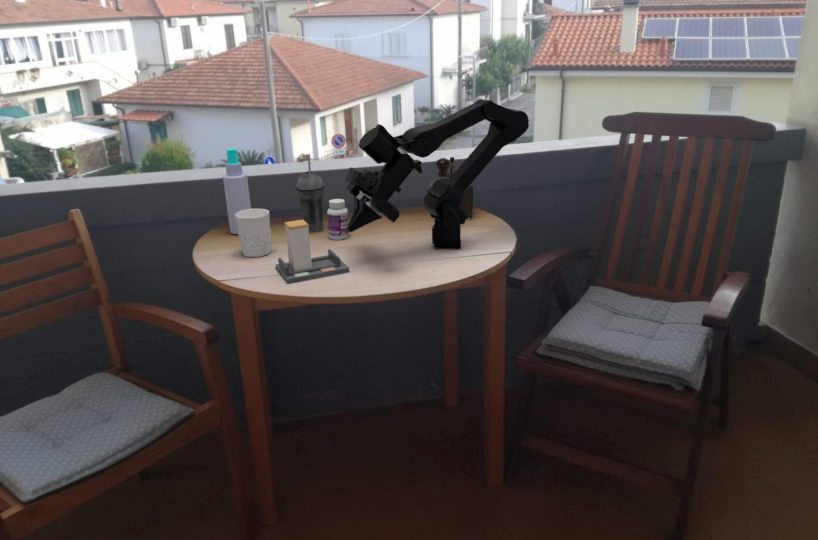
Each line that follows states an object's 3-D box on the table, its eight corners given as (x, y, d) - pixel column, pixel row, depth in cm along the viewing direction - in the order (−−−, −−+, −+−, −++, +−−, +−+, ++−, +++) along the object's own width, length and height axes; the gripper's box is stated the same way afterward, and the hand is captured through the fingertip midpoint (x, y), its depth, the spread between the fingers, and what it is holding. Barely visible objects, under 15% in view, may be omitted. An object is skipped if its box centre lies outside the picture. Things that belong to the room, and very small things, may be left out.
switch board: (334, 258, 148) (333, 246, 147) (349, 271, 139) (348, 259, 138) (275, 268, 142) (274, 256, 141) (287, 283, 134) (286, 270, 133)
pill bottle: (346, 240, 159) (343, 203, 156) (326, 239, 160) (323, 203, 157) (352, 234, 164) (349, 198, 160) (332, 233, 165) (330, 197, 161)
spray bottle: (249, 235, 165) (238, 151, 157) (227, 235, 166) (215, 151, 157) (256, 228, 170) (247, 147, 162) (235, 228, 171) (224, 147, 163)
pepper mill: (428, 211, 182) (427, 149, 175) (465, 209, 183) (466, 147, 176) (436, 227, 168) (436, 160, 161) (477, 225, 169) (478, 158, 162)
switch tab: (306, 262, 142) (302, 219, 138) (312, 268, 138) (308, 224, 135) (289, 266, 140) (284, 222, 136) (294, 272, 137) (289, 227, 133)
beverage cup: (296, 233, 165) (289, 158, 158) (304, 225, 172) (297, 152, 165) (323, 234, 164) (317, 158, 157) (330, 225, 171) (324, 152, 164)
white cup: (278, 248, 155) (274, 209, 152) (265, 259, 148) (260, 218, 144) (249, 246, 157) (244, 207, 153) (234, 257, 150) (229, 217, 146)
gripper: (351, 147, 145) (309, 200, 145) (383, 161, 129) (336, 221, 129) (384, 176, 151) (344, 227, 151) (418, 193, 135) (374, 250, 135)
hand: (348, 230), depth 141 cm, fingers closed
